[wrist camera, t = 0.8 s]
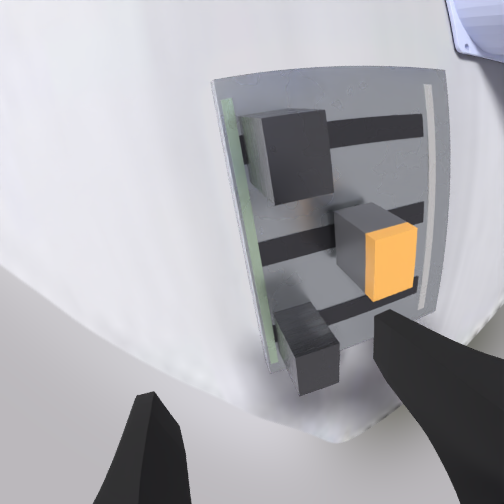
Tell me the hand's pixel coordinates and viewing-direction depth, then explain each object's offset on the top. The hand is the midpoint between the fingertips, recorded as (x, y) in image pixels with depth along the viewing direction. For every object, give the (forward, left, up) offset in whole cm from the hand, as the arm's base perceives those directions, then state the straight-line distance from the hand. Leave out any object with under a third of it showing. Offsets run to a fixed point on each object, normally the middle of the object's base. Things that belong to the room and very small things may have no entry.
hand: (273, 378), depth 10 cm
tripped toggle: (-7, 0, -8) cm, 10 cm away
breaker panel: (-8, 0, -9) cm, 12 cm away
